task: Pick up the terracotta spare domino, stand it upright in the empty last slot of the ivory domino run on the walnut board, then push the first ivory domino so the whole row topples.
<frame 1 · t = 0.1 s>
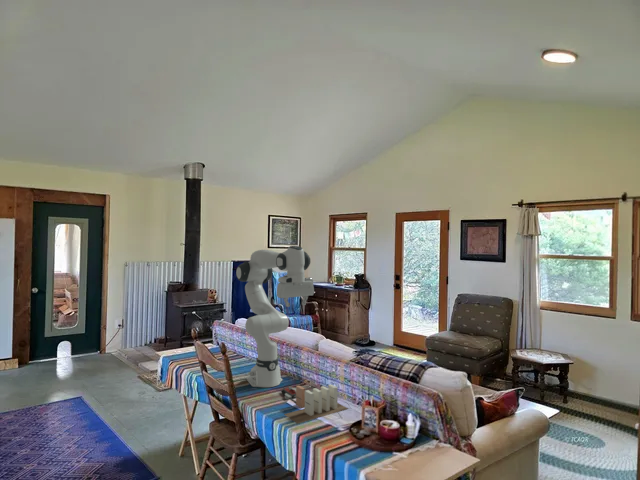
hand: (295, 305, 214), 48 cm above the table, fingers open, 8 cm apart
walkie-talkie: (293, 399, 218), on the table
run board: (316, 413, 198), on the table
domino 3: (317, 411, 198), point 1 cm above the table, touching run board
domino 1: (332, 407, 204), point 1 cm above the table, touching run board
domino 4: (309, 413, 196), point 1 cm above the table, touching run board
spare domino: (300, 407, 205), on the table
domino 2: (325, 409, 201), point 1 cm above the table, touching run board
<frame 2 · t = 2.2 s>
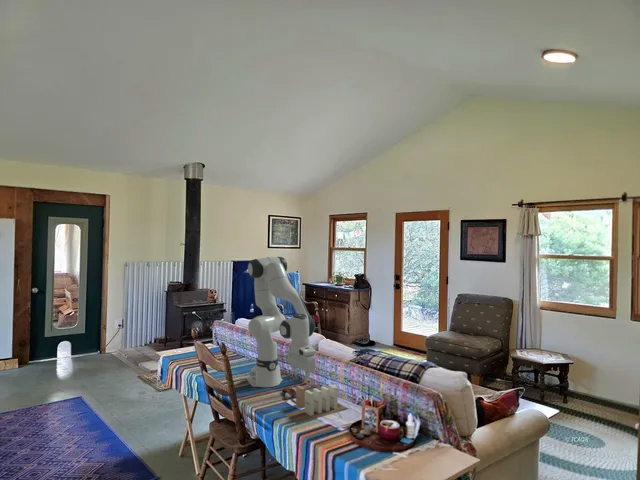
hand: (300, 377, 205), 15 cm above the table, fingers open, 8 cm apart
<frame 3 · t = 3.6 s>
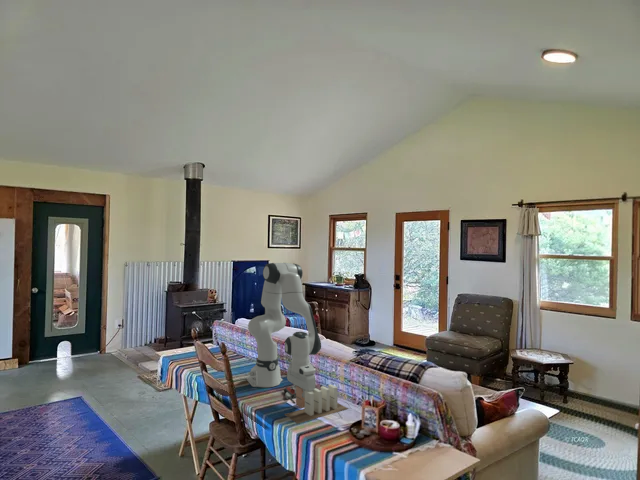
hand: (300, 395, 205), 6 cm above the table, fingers closed on spare domino, 5 cm apart
spare domino: (300, 408, 205), on the table, touching gripper
everything else where it was.
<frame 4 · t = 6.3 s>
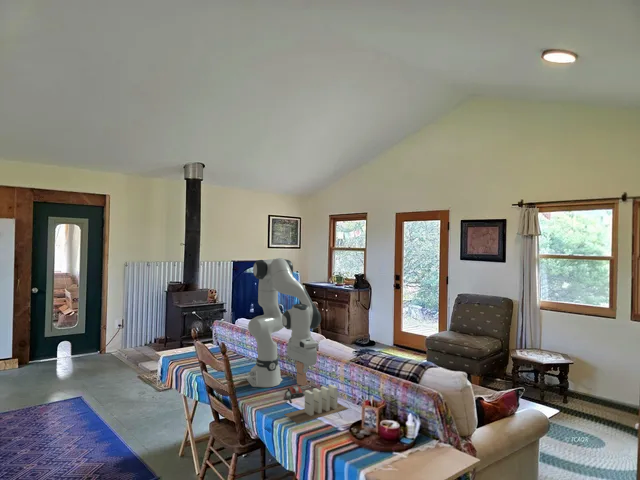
hand: (301, 370, 193), 22 cm above the table, fingers closed on spare domino, 5 cm apart
spare domino: (301, 384, 193), point 15 cm above the table, touching gripper
when the fingers open (8 cm above the table, at t = 9.3 s): spare domino stays where it is, resting on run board.
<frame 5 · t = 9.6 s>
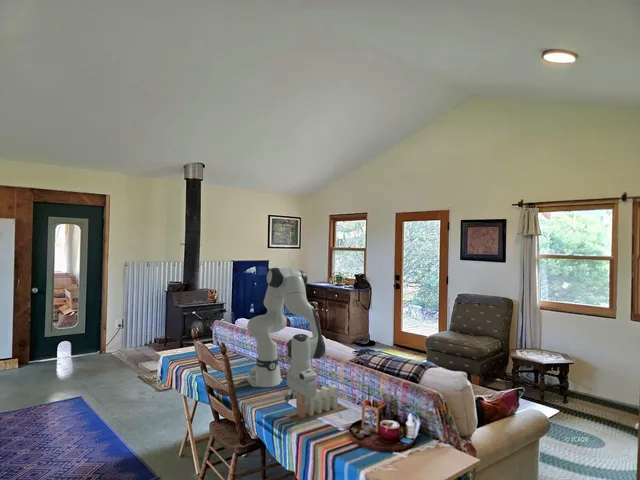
hand: (300, 401, 193), 8 cm above the table, fingers open, 8 cm apart
spare domino: (300, 415, 193), point 1 cm above the table, touching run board
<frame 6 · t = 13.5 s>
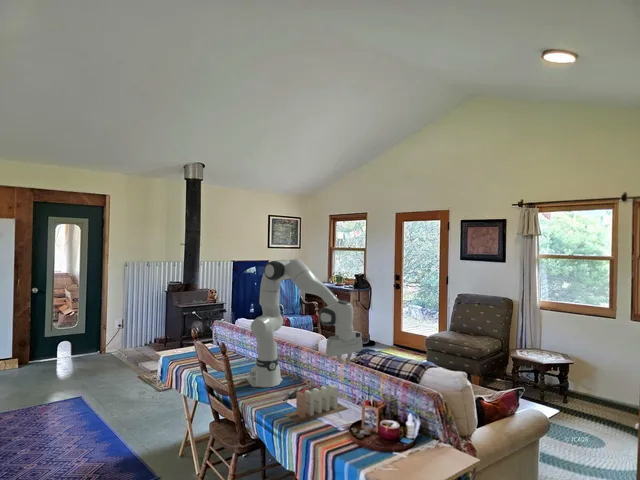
hand: (344, 362, 207), 21 cm above the table, fingers open, 3 cm apart
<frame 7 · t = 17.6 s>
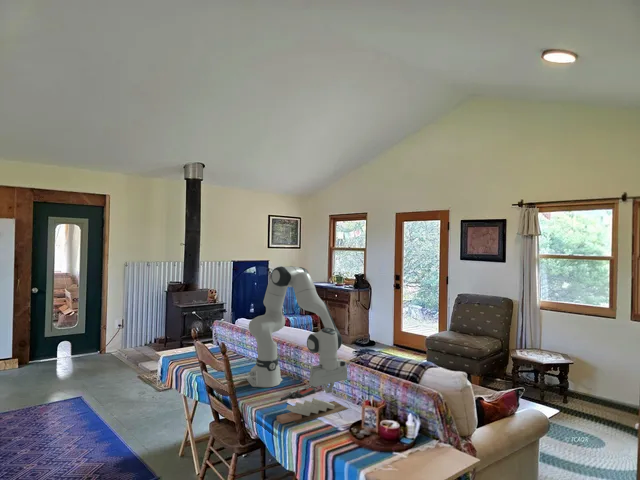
hand: (328, 392, 202), 9 cm above the table, fingers closed
domino 3: (315, 410, 198), point 2 cm above the table, tilted 66°, touching domino 2, domino 4, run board
domino 1: (331, 405, 203), point 2 cm above the table, tilted 66°, touching domino 2, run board
domino 4: (306, 412, 195), point 2 cm above the table, tilted 66°, touching domino 3, spare domino
spare domino: (298, 414, 193), point 2 cm above the table, tilted 90°, touching domino 4, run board
domino 2: (323, 407, 200), point 2 cm above the table, tilted 66°, touching domino 1, domino 3, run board
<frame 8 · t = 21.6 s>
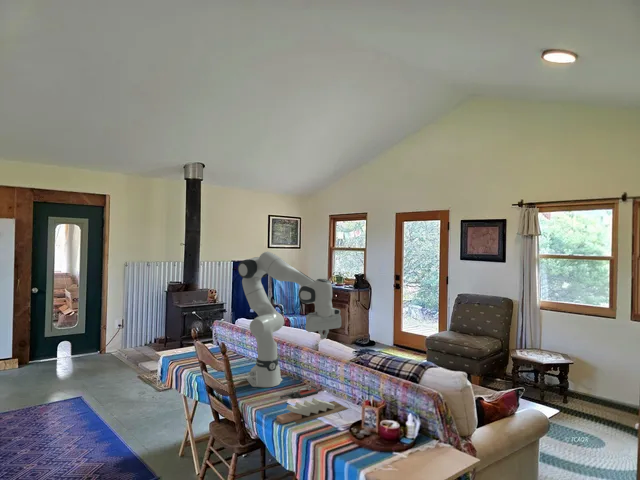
hand: (323, 338, 215), 31 cm above the table, fingers closed
at the end: spare domino inside the target area (0.6 cm from its centre), point 1.9 cm above the table; spare domino tilted 90°; domino 1 tilted 66° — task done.
